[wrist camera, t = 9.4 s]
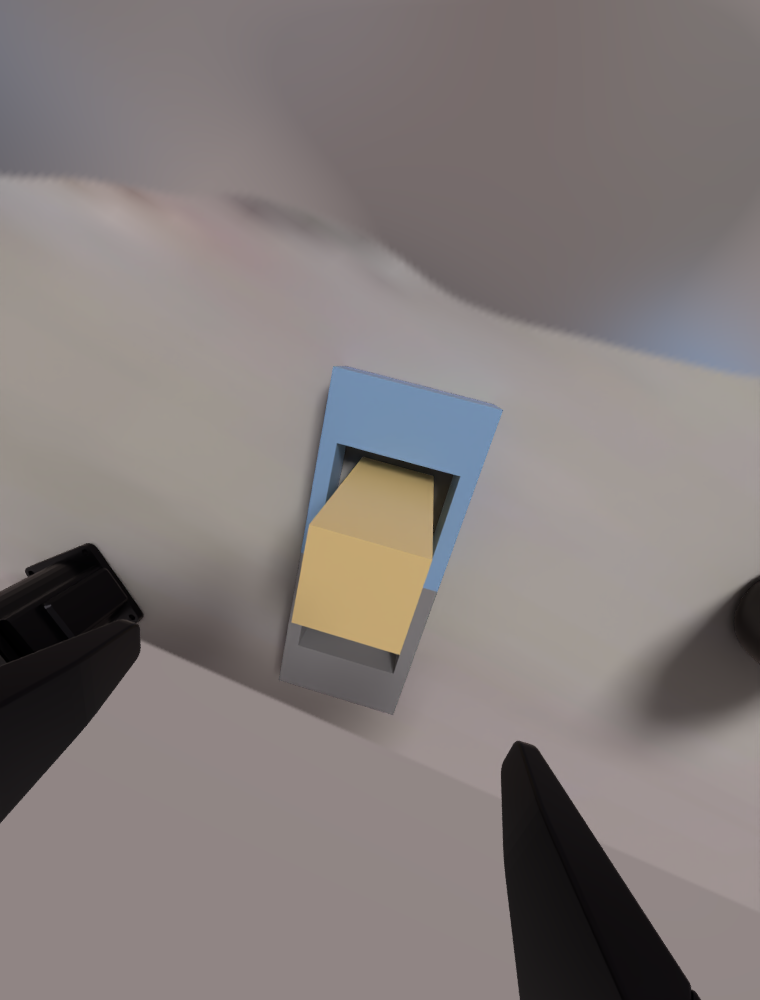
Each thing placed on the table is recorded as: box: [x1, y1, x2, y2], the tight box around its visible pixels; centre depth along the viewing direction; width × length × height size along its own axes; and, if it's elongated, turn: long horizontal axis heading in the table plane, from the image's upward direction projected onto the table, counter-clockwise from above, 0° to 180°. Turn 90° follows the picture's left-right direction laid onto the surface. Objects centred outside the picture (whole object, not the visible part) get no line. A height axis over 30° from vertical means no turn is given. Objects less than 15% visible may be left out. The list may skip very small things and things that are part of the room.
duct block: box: [279, 366, 503, 715], centre depth 20 cm, size 19×8×2 cm, turn 167°
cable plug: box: [291, 457, 434, 655], centre depth 16 cm, size 4×4×9 cm
